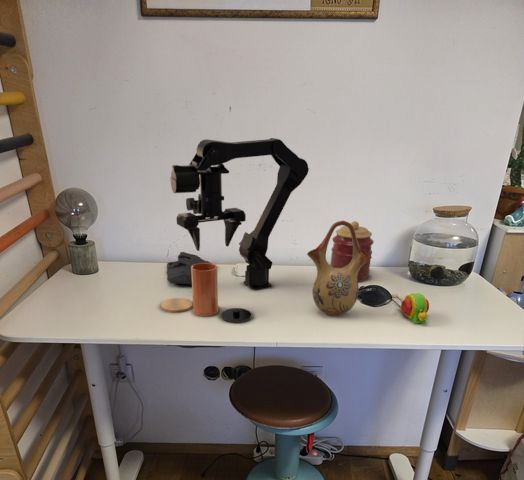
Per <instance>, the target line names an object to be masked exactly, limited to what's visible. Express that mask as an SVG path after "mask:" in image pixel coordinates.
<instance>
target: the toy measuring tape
mask: <svg viewBox="0 0 524 480" xmlns="http://www.w3.org/2000/svg"><path fill="white" fill-rule="evenodd" d="M390 294H391V295H392V299H391V300H393V301H394V302H395V303H396V304H397V306H400V307H399V311H400V312H401V313H402V314H403V315H404V316H405V317H406V318H408V319H410V320H411V321H412V322H413V323H414V324H424V323H425V322H426V320H428V317H429V315H428V312H429V310H430V302H429V300H428V299H427V297H425V295H424V294H422V293H420V292H415V293H410V294H406V295H405V297H404V299H403V300H401V299H399V294H398V293H390Z"/></svg>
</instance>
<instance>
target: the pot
mask: <svg viewBox="0 0 524 480" xmlns="http://www.w3.org/2000/svg"><path fill="white" fill-rule="evenodd" d="M191 275H192V285H191V292H192V310H193V314H195V315H197V316H199V317H211V316H214V315H217V314H218V312H219V288H218V287H219V286H218V284H219V282H218V280H219V279H218V265H217V264H215V263H212V262H210V263H197V264H194V265H192V267H191Z"/></svg>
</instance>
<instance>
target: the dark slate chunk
mask: <svg viewBox="0 0 524 480" xmlns="http://www.w3.org/2000/svg"><path fill="white" fill-rule="evenodd" d="M197 263H211V262H210V261H208V260H205V259H203V258H201V257H200V256H198V255H197V254H193V253H189V252H186V251H180V252H179V254H178V256H177V260H176V261H169V262H167V263H166V275H167V278H166V280H167V281H168V282H169V283H170V284H177V285H191V286H192V275H191V267H192V265H194V264H197Z"/></svg>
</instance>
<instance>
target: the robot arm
mask: <svg viewBox="0 0 524 480" xmlns="http://www.w3.org/2000/svg"><path fill="white" fill-rule="evenodd" d="M196 146H197V147H196V152H195V154H194V156H193V157H192V159H191V160H190V162H189V163H188V164H189V165H178V164H172V165H171V173H170V177H169V179H170V181H169V182H170V186H171V191H172V193H173V194H186V193H187V194H188V193H196V192H197V190H199V191H200V193H198V196H197V199H195V198H194V197H187V198H186V199H185V206H186V210H187V211H189V212H182V213H178V214H177V216H176V225H177V226H180V227H182V228H183V229H185V230H187V232H188V233H189V235H190V237H191V240H192V242H193V244H194V247H195V250H196V251H197V252H199V251H200V247H201V228H200V227H198V226H199V224H200V223H209V222H217V221H223V223H224V227H225V229H224V243H225V247H229V246H230V244H231V241H232V239H233V237H234V235H235V234H236V231H237V230H238V228H239V226H242V224H243V222H246V221H247V219H246V218H247V216H246V212H245V211H244V210H242V209H241V208H238V207H230V208H225V209H224V210H223V201H225V196H224V195H223V187H222V185H223V183H222V179H223V178H222V175H223V174H224V175H225V174H226V175H227V174H229V173H230V170H229V169H228V168H226V166H225V165H224V164H225V163H228V162H230V161H232V160H235V159H242V158H253V157H262V156H263V157H264V156H271V158H272V159H273V161H274V162H275V163H276V164H277V165H278V166H279V168H278V171H277V175H276V176H277V177H276V185H275V187H274V190H273V191H272V193H271V196H270V197H269V200H268V201H267V203H266V204H265V207H264V210H263V211H262V214H261V215H260V217H259V219H258V221H257V223H256V225H255V228H254V229H253V230H252V231H251V232H250V233H248V232H246V231H245V232H244V233H243V236H242V239H241V240H240V242H238V245H239V247H238V251H239V255H240V256H241V258H242V259H244V262H245V263H246V264H248V265H246V270H245V271H244V281H243V284H244V285H246V286H247V287H249V288H251V289H252V290H259V289H263V288H270V287H272V284H271V283H270V270H271V269H272V266H273V261H272V260H271V259H270V258H269V257H268V256H267V252H268V249H269V238H270V235H271V234H272V231H273V229H274V228H275V226H276V224H277V222H278V221H279V218H280V216H281V214H282V212H283V210H284V209H285V206H286V204H287V202H288V200H289V198H290V196H291V195H292V193H293V191H295V190H296V189H297V188H298V187H299V186H300V185H302V184H303V182H304V180H305V179H306V178H307V176H308V173H309V170H310V168H309V164H308V162H307V160H305V159H304V158H301V157H299V156H298V155H297V154H296V153H295V152H294V151H293V150H291V149H290V148H289V147H288V146H287V145H286V144H285V143H284V142H283V140H281V139H280V138H275V137H271V138H267V139H256V140H255V139H254V140H243V141H232V142H230V141H222V140H216V139H206V138H205V139H202V140H201V141H199V142H198V144H197V145H196ZM190 211H192V212H190Z"/></svg>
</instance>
